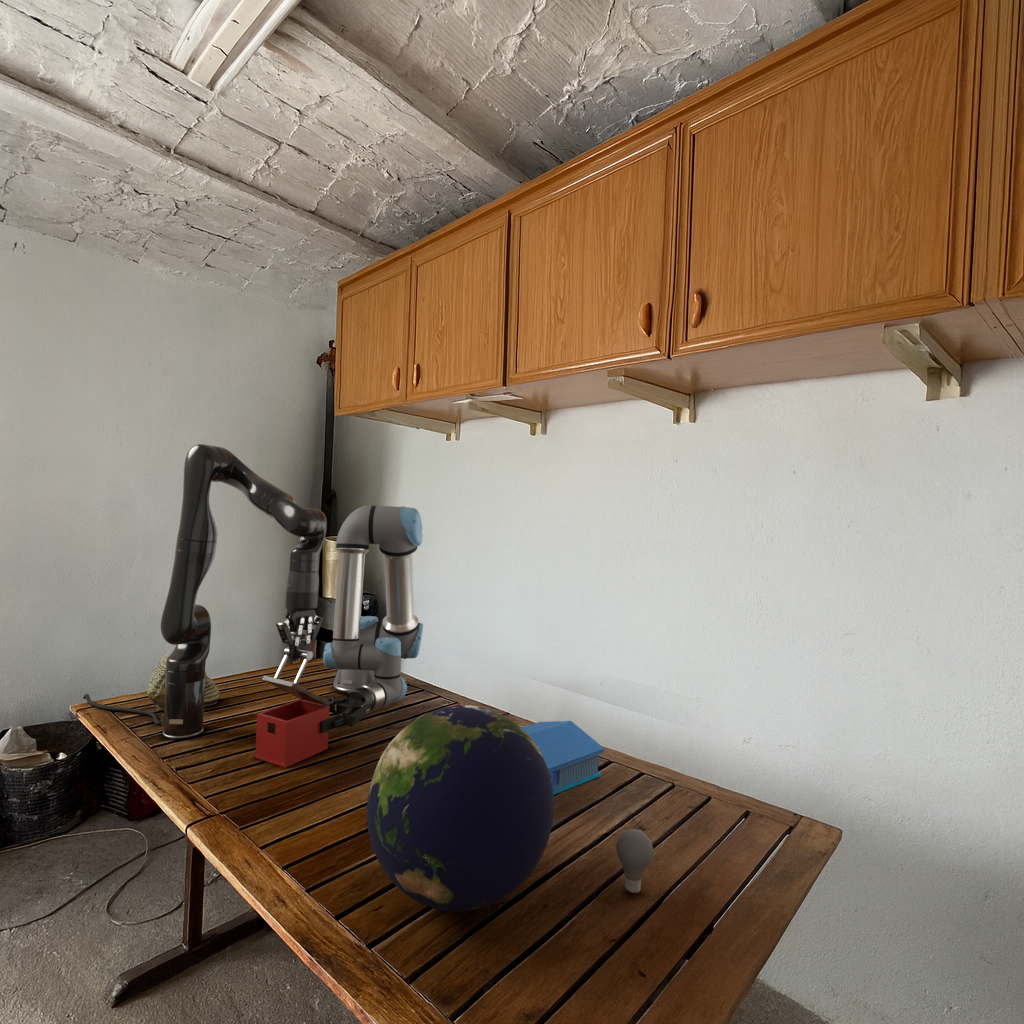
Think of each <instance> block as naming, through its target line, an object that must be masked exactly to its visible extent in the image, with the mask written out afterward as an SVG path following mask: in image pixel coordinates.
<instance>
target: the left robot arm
mask: <svg viewBox="0 0 1024 1024" xmlns="http://www.w3.org/2000/svg"><path fill="white" fill-rule="evenodd" d="M186 453H187V454H186V456H185V459H184V465H183V485H182V486H183V487H182V488H183V490H182V501H181V503H182V504H181V510H180V519H179V526H178V531H177V537H176V544H175V551H174V560H173V565H172V571H171V578H170V583H169V589H168V593H167V596H166V600H165V604H164V608H163V611H162V613H161V614H162V615H161V619H160V633H161V635H162V638H163V640H164V641H165V642H167V643H168V644H170V645H173V646H175V647H174V649H173V650H172V652H171V653H170V654H168V655H169V656H168V658H167V659H166V674H165V705H164V710H163V713H161V714H160V720H159V718H158V716H157V714H156V713H154V712H152V711H149V710H145V709H144V710H143V709H138V708H130V707H121V706H111V705H105V704H100V703H99V702H95V701H93V700H92V699H91V697H90V695H89V694H88V693H85V694H84V695H83V697H82V699H83V700H85V701H86V702H87V704H89V705H91V706H93V707H95V708H98V709H101V710H107V711H114V712H125V713H132V714H133V713H134V714H139V715H146V716H149V717H151V718H152V720H153V722H154V724H155V725H157V726H160V725H161V726H162V727H163V731H162V737H164V738H166V739H169V740H185V739H190V738H191V739H192V738H194V737H197V736H199V735H202V734H203V732H204V730H205V729H204V722H205V721H204V718H205V706H204V693H205V672H206V664H207V663H206V662H207V658H208V656H209V653H210V647H211V639H212V637H211V636H212V617H211V614H210V613H209V611H208V609H207V608H206V607H205V606H203V605H201V604H197V603H196V601H197V596H198V592H199V590H200V587H201V585H202V583H203V581H204V580H205V578H206V575H207V574H208V573H209V570H210V569H211V567H212V565H213V563H214V559H215V556H216V549H217V544H218V543H217V542H218V528H217V524H216V521H215V518H214V515H213V513H212V509H211V504H210V492H211V487H212V483H219V482H220V483H223V484H225V485H228V486H231V487H233V488H235V489H237V490H238V491H240V492H241V493H242V494H243V495H244V496H245V498H246V499H247V500H248V502H249V503H250V504H251V505H252V506H253V507H255V508H256V509H258V510H259V511H261V512H262V513H264V514H265V515H267V516H268V517H270V518H272V519H274V520H275V521H276V523H277V524H278V525H279V526H280V527H281V528H282V529H283V530H284V531H286V532H287V533H289V534H290V535H293V536H295V537H298V538H299V541H298V544H297V545H296V546H294V547H292V548H291V549H290V552H289V557H288V558H289V559H288V562H289V563H288V573H287V578H286V588H285V589H286V590H285V604H284V605H285V607H284V608H285V609H286V613H285V615H284V616H285V617H284V619H282V621H277V622H276V623H275V626H276V629H277V631H278V635H279V636H280V637H279V638H280V639H281V642H282V643H283V644H287V645H288V647H289V656H288V659H289V661H291V662H297V661H298V660H299V658H298V652H299V649H302V650H307V651H309V644H310V643H311V642H312V641H315V640H316V639H317V636H318V634H319V631H320V628H321V626H322V624H323V621H324V618H323V616H322V617H321V616H318V615H317V614H316V609H317V608H318V604H319V603H318V602H319V586H320V575H319V571H320V570H319V569H320V555H321V551H322V548H323V545H324V541H325V538H326V534H327V531H328V521H327V517H326V515H325V513H324V512H323V511H322V510H321V509H319V508H313V507H311V508H310V507H302V506H300V505H298V504H297V503H296V501H295V499H294V497H293V496H292V495H291V494H289V493H288V492H286V491H284V490H283V489H281V488H279V487H277V486H276V485H274V484H273V483H271V482H269V481H268V480H266V479H264V478H263V477H261V476H260V475H259V474H257V473H256V472H255V471H253V470H252V469H251V468H249V466H247V465H246V464H245V463H244V462H243V461H242V460H240V458H238V457H237V456H236V455H235V454H234V453H232V452H231V451H230V450H229V449H227V448H225V447H222V446H217V445H211V444H204V443H198V444H195V445H193V446H191V448H189V450H188V451H187V452H186Z"/></svg>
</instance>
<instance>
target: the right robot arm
mask: <svg viewBox="0 0 1024 1024" xmlns="http://www.w3.org/2000/svg"><path fill="white" fill-rule="evenodd" d="M422 543H423V523H422V517H421V514H420V512H419V510H418V509H417V508H415V507H409V506H404V505H402V506H389V505H374V504H369V505H368V504H367V505H362V506H360V507H358V508H356V509H355V510H353V511H352V512H351V513H350V514H349V515H348V516H347V517H346V519H345V520H344V521H343V523H342V524H341V527H340V529H339V531H338V533H337V537H336V542H335V544H336V545H335V550H336V551H337V552H338V564H337V577H336V590H335V591H336V592H335V602H334V603H335V605H334V619H333V629H332V630H333V631H332V632H333V633H332V641H331V642H327V643H326V644H325V646H324V649H323V650H324V651H323V654H322V655H323V656H322V662H323V665H324V667H325V668H326V669H332V670H337V672H336V675H335V677H334V680H333V683H332V684H333V686H332V687H333V688H332V689H333V691H335V692H336V693H338V694H342V695H346V696H345V697H341V698H338V699H336V696H334V695H333V696H329V697H327V698H325V699H326V700H328V701H330V704H329V714H330V713H331V714H333V716H331V717H329V718H328V719H326V720H323V721H321V722H320V733H324V732H326V731H328V732H329V731H330V730H334V729H336V728H338V727H340V726H347V725H348V726H349V727H353V726H355V725H356V724H357V723H359V722H360V721H361V720H362V719H365V717H368V716H371V713H373V712H374V711H377V710H379V709H381V708H385V707H386V706H389V705H392V704H395V703H397V702H399V701H401V700H402V699H403V698H404V697H405V696H406V694H407V692H408V685H407V683H406V679H405V678H404V677H403V676H402V675H401V667H402V666H401V663H402V659H403V660H406V659H415V658H417V657H418V656H419V654H420V648H421V643H422V637H423V630H424V624H423V623H422V622H419V618H418V616H417V615H416V614H415V613H414V611H415V610H414V561H413V559H414V557H413V556H414V555H413V554H415V553H416V552H417V551H418V547H420V546H421V545H422ZM370 545H378V550H379V552H380V554H382V555H383V556H384V576H385V603H386V615H385V616H384V617H383V619H382V621H379V618H378V616H375V615H374V616H372V615H366V616H362V605H363V604H362V603H363V591H364V589H363V588H364V575H365V562H366V561H365V559H366V554H367V553H368V552H369V551H370ZM317 704H318V703H317ZM321 705H322V704H321ZM325 706H326V705H325ZM335 714H336V715H335Z"/></svg>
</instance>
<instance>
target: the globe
mask: <svg viewBox="0 0 1024 1024" xmlns="http://www.w3.org/2000/svg"><path fill="white" fill-rule="evenodd" d="M450 706H451V705H450ZM426 713H427V714H426ZM426 713H424V714H425V715H423V714H422V715H423V716H421V715H420V716H421V717H419V716H418V717H419V718H418V719H416V718H415V719H416V720H413V721H411V722H409V724H407V725H406V726H405V727H404V728H402V729H401V731H399V733H398V734H396V736H395V737H394V738H393V739H392V740H391V741H390V742H389V743H388V745H387V747H385V749H384V751H382V754H381V755H380V758H379V760H378V762H377V763H376V766H375V769H374V771H373V774H372V777H371V780H370V783H369V787H368V788H369V789H368V794H367V801H366V822H367V832H368V836H369V840H370V844H371V847H372V851H373V853H374V855H375V857H376V859H377V861H378V864H379V865H380V867H381V869H382V870H383V872H384V873H385V875H386V876H387V877H388V878H389V880H390V881H391V883H393V884H394V885H395V886H396V887H397V888H398V890H400V891H401V892H402V893H404V894H405V895H406V896H408V897H409V898H410V899H412V900H413V901H415V902H417V903H419V904H421V905H424V906H426V907H428V908H429V907H430V908H431V909H436V910H439V911H445V912H455V913H456V912H471V911H475V910H479V909H483V908H486V907H489V906H491V905H494V904H496V903H499V902H500V901H502V900H503V899H505V898H506V897H508V896H509V895H511V894H512V893H514V892H515V891H516V890H517V889H518V888H519V887H520V886H522V885H523V884H524V882H526V880H527V879H528V878H529V877H530V875H532V873H533V871H534V870H535V869H536V867H537V866H538V864H539V863H540V860H541V859H542V857H543V855H544V853H545V850H546V848H547V846H548V843H549V841H550V837H551V833H552V827H553V823H554V814H555V795H554V794H553V786H552V782H551V777H550V774H549V770H548V767H547V765H546V763H545V760H544V757H543V755H542V753H541V752H540V750H539V748H538V747H537V745H536V744H535V742H534V741H533V740H532V739H531V737H530V736H529V735H528V734H527V733H526V732H525V731H524V730H523V729H522V728H521V727H522V726H520V725H518V723H516V722H514V721H513V720H512V719H510V718H508V717H507V716H505V715H503V714H501V713H499V712H497V711H494V710H493V709H489V708H485V707H482V706H477V705H469V704H468V705H467V704H465V705H464V706H451V707H447V706H445V708H444V707H442V708H438V709H435V710H432V711H429V712H426Z"/></svg>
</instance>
